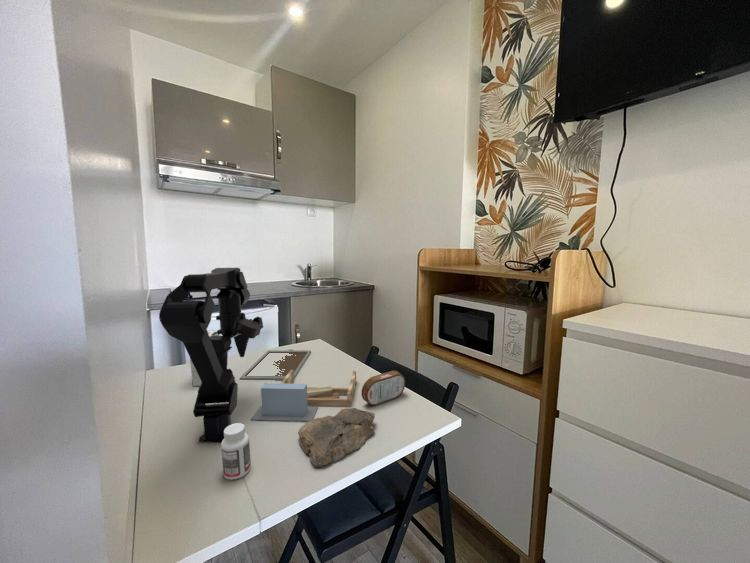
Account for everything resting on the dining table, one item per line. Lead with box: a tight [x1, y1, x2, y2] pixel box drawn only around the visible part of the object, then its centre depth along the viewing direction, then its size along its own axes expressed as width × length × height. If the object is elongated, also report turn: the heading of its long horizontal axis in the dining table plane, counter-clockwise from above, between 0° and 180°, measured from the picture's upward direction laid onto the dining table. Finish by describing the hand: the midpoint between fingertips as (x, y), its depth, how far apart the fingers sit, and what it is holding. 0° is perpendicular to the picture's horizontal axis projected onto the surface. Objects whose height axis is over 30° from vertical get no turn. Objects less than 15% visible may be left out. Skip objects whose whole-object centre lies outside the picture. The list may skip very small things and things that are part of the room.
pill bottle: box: [220, 422, 252, 481], centre depth 64 cm, size 5×5×10 cm
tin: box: [360, 370, 406, 406], centre depth 92 cm, size 15×3×8 cm, turn 123°
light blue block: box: [260, 382, 308, 416], centre depth 85 cm, size 3×12×8 cm, turn 87°
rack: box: [280, 370, 357, 408], centre depth 97 cm, size 16×23×4 cm
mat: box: [250, 404, 319, 423], centre depth 85 cm, size 7×17×1 cm, turn 87°
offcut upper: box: [307, 385, 333, 398], centre depth 93 cm, size 3×9×2 cm, turn 105°
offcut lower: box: [317, 393, 340, 398], centre depth 93 cm, size 3×13×2 cm, turn 93°
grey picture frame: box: [239, 349, 312, 382], centre depth 121 cm, size 19×2×30 cm
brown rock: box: [297, 407, 376, 468], centre depth 75 cm, size 14×5×20 cm
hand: (233, 362), depth 89 cm, fingers open, 9 cm apart
